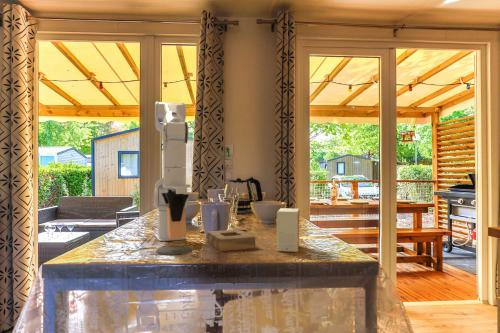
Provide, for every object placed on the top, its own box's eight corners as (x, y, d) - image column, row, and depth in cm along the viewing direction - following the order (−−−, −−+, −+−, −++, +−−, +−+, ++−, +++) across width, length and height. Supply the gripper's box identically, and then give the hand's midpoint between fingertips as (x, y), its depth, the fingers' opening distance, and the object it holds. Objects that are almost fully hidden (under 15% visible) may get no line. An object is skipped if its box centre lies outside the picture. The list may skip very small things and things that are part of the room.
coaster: (153, 248, 89) (153, 247, 89) (187, 245, 93) (187, 244, 93) (159, 256, 81) (159, 254, 81) (195, 253, 85) (195, 251, 85)
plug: (167, 236, 88) (165, 203, 88) (183, 234, 90) (181, 201, 90) (170, 239, 85) (168, 204, 85) (186, 237, 86) (185, 203, 86)
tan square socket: (207, 241, 98) (207, 231, 98) (238, 239, 102) (239, 229, 102) (220, 251, 87) (220, 239, 87) (255, 247, 91) (255, 236, 91)
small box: (297, 252, 86) (298, 211, 86) (276, 251, 87) (276, 211, 87) (299, 245, 94) (299, 208, 94) (279, 244, 95) (279, 207, 95)
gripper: (197, 167, 82) (196, 223, 82) (183, 168, 96) (183, 215, 95) (168, 167, 79) (167, 224, 79) (158, 167, 93) (158, 216, 93)
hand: (174, 220), depth 87 cm, fingers closed on plug, 4 cm apart
